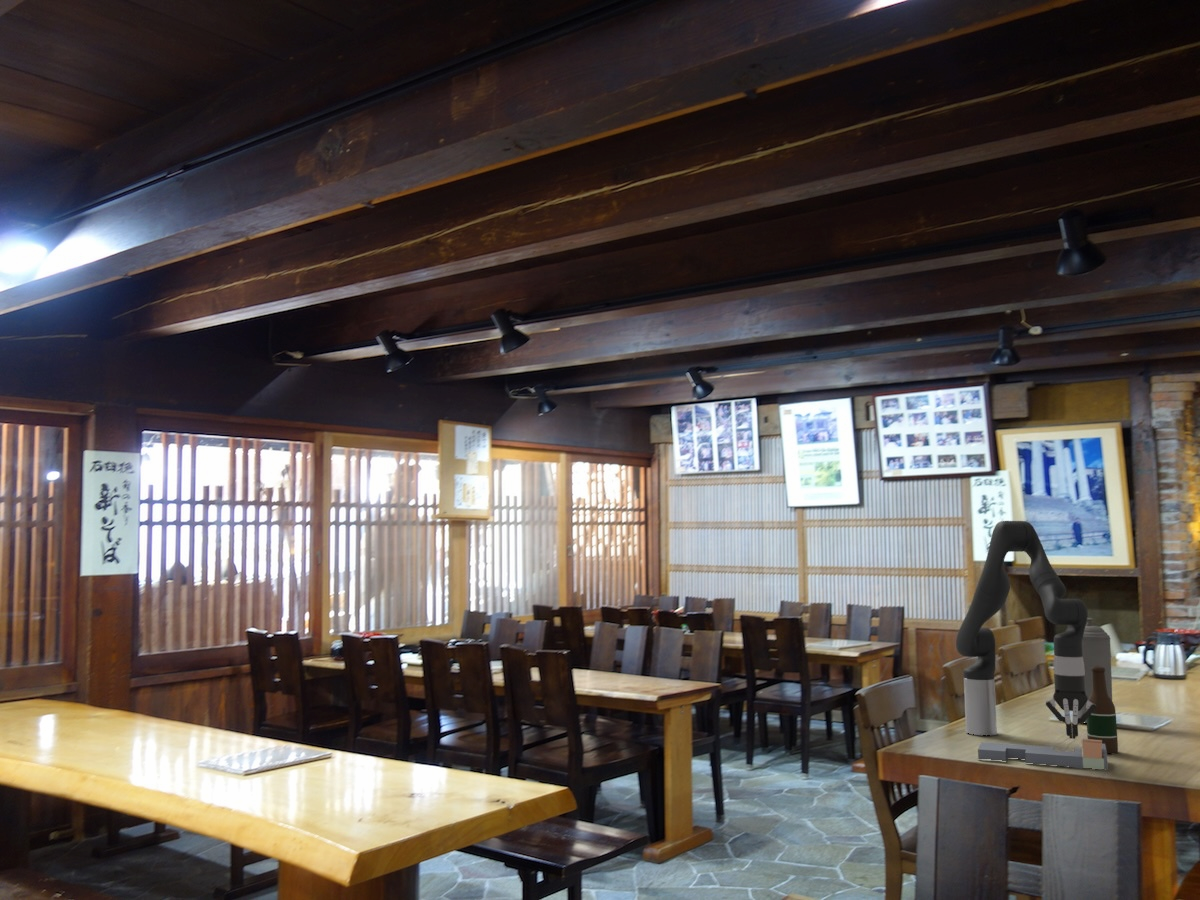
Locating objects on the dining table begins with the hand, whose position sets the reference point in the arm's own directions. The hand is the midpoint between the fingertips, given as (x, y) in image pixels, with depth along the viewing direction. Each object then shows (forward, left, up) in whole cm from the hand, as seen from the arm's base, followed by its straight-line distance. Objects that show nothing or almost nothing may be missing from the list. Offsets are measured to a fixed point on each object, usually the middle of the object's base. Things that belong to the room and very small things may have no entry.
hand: (1072, 737), depth 264 cm
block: (+2, +5, -4) cm, 7 cm away
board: (-2, -8, -7) cm, 11 cm away
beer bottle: (-24, +8, -7) cm, 26 cm away
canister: (-77, +7, -7) cm, 77 cm away
